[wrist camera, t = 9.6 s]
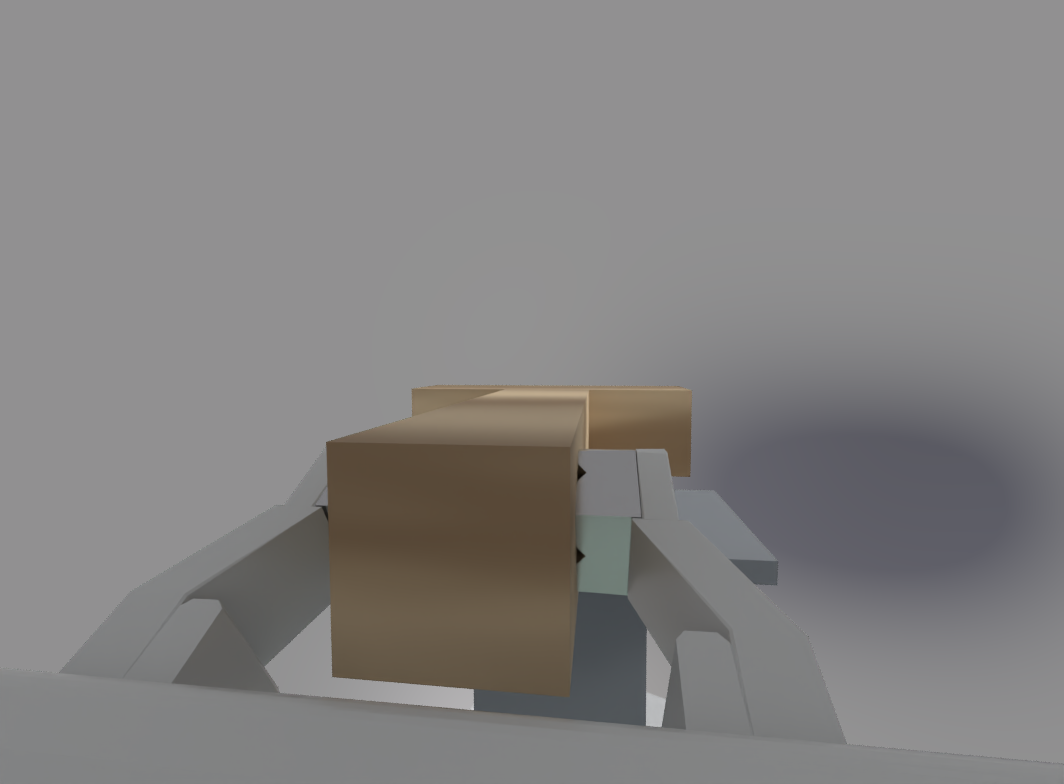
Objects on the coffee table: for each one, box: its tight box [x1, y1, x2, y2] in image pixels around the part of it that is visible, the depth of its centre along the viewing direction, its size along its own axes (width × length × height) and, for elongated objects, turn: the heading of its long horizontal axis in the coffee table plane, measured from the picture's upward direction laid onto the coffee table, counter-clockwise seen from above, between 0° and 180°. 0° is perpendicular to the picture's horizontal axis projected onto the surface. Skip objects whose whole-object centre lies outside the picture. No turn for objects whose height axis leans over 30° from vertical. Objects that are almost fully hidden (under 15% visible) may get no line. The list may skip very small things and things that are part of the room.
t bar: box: [326, 385, 692, 697], centre depth 13 cm, size 15×10×3 cm, turn 173°
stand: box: [474, 490, 778, 726], centre depth 28 cm, size 11×18×26 cm, turn 83°
